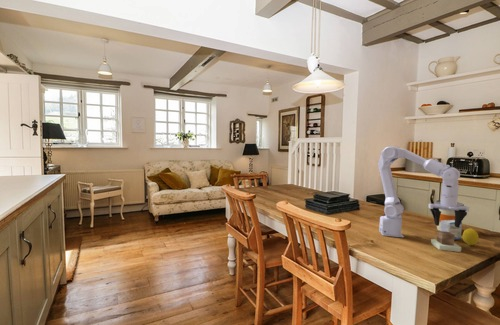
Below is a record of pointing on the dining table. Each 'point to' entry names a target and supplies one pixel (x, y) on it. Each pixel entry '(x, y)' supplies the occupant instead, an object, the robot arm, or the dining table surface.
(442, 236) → the walnut cube
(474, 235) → the lemon
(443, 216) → the reusable coffee cup
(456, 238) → the medicine box
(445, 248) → the base brick
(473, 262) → the dining table surface
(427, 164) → the robot arm
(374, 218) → the dining table surface
